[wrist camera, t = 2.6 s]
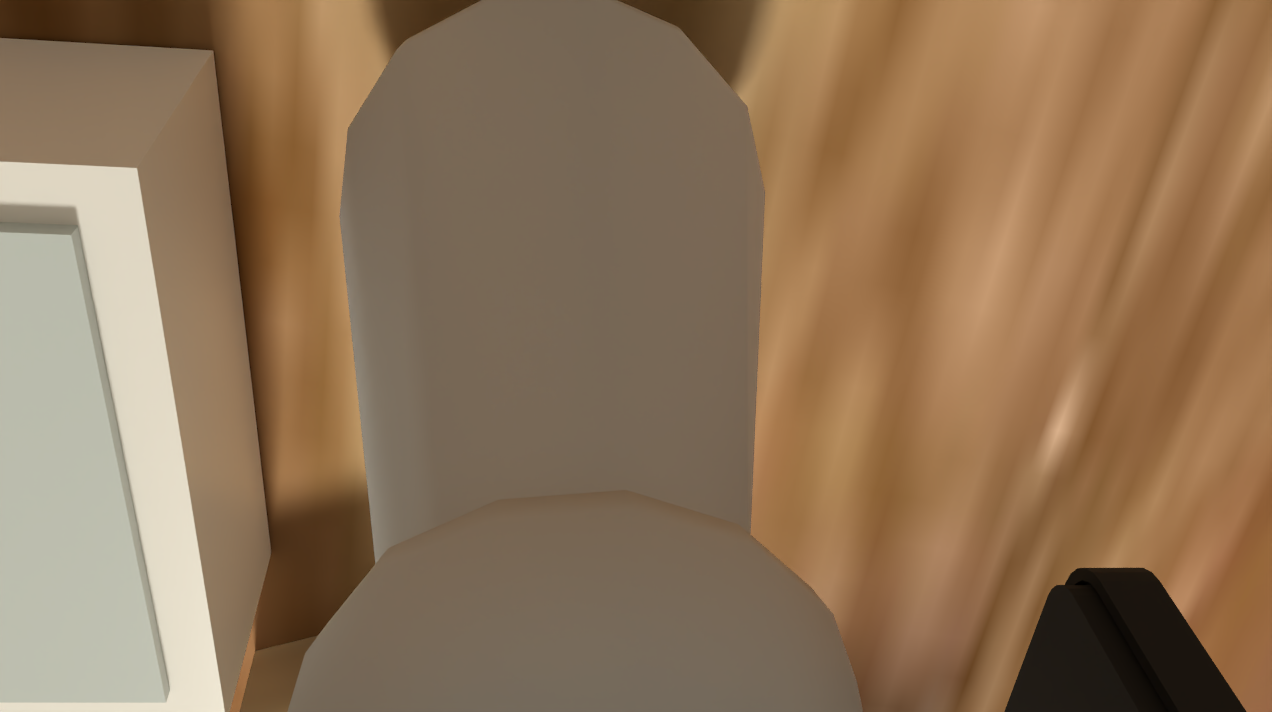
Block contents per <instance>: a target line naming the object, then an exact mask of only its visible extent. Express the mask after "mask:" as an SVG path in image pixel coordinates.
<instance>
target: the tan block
mask: <svg viewBox="0 0 1272 712" xmlns="http://www.w3.org/2000/svg"><path fill="white" fill-rule="evenodd" d="M317 637H318V636H314V637H310V638H306V639H302V640H298V641H294V642H290V643H286V644H281V645H277V646H273V647H269V648H265V649H261V650H257V651H255V654H254V658H253V662H252V666H251V669H250V673H249V677H248V681H247V685H246V689H245V693H244V697H243V701H242V704H241V708H240V712H287V711H288V708H289V705H290V701H291V698H292V695H293V691H294V688H295V685H296V682H297V678H298V675H299V672H300V668H301V665H302V662H303V659H304V655H305V653H306V651H307V650H308V649H309V647H310V646H311V645H312V643H313V642H314V641H315V639H316V638H317Z"/></svg>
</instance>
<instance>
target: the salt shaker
mask: <svg viewBox="0 0 1272 712" xmlns="http://www.w3.org/2000/svg"><path fill="white" fill-rule="evenodd" d="M764 205H765V190H764V185H763V180H762V175H761V171H760V166H759V161H758V156H757V151H756V147H755V142H754V137H753V132H752V127H751V123H750V118H749V113H748V108H747V106H746V105H745V103H744V102H743V101H742V100H741V99H740V98H739V96H738V95H737V94H736V93H735V92H734V91H733V89H732V88H731V87H730V86H729V85H728V84H727V83H726V81H725V80H724V79H723V78H722V77H721V76H720V74H719V73H718V72H717V71H716V70H715V69H714V67H713V66H712V65H711V64H710V63H709V62H708V61H707V59H706V58H705V57H704V56H703V55H702V54H701V52H700V51H699V50H698V49H697V48H696V47H695V45H694V44H693V43H692V42H691V41H690V40H689V38H688V37H687V36H686V35H685V34H684V33H683V31H682V30H681V29H680V28H679V27H677V26H675V25H673V24H671V23H668V22H666V21H664V20H662V19H659V18H657V17H655V16H652V15H650V14H648V13H646V12H643V11H641V10H639V9H636V8H634V7H632V6H630V5H627V4H625V3H623V2H621V1H618V0H480V1H479V2H477V3H475V4H473V5H471V6H469V7H467V8H465V9H463V10H461V11H460V12H458V13H456V14H454V15H452V16H450V17H448V18H446V19H444V20H442V21H440V22H439V23H437V24H435V25H433V26H431V27H429V28H427V29H425V30H423V31H421V32H419V33H418V34H416V35H414V36H412V37H410V38H408V39H406V40H405V41H404V42H403V43H402V44H401V45H400V46H399V47H398V48H397V50H396V52H395V53H394V55H393V56H392V58H391V60H390V61H389V63H388V65H387V66H386V68H385V69H384V71H383V73H382V74H381V76H380V77H379V79H378V81H377V82H376V84H375V86H374V87H373V89H372V90H371V92H370V94H369V95H368V97H367V99H366V100H365V102H364V103H363V105H362V107H361V108H360V110H359V112H358V113H357V115H356V116H355V118H354V120H353V121H352V123H351V124H350V126H349V128H348V133H347V144H346V154H345V165H344V175H343V186H342V196H341V207H340V224H341V234H342V244H343V253H344V263H345V273H346V283H347V292H348V302H349V312H350V322H351V331H352V341H353V351H354V361H355V370H356V380H357V390H358V400H359V409H360V419H361V429H362V438H363V448H364V458H365V468H366V477H367V487H368V497H369V507H370V516H371V526H372V536H373V546H374V555H375V565H374V566H373V568H372V569H371V570H370V571H369V572H368V574H367V575H366V576H365V577H364V579H363V580H362V581H361V582H360V584H359V585H358V586H357V587H356V588H355V590H354V591H353V592H352V593H351V595H350V596H349V597H348V598H347V600H346V601H345V602H344V603H343V605H342V606H341V607H340V608H339V609H338V611H337V612H336V613H335V614H334V616H333V617H332V618H331V619H330V621H329V622H328V623H327V624H326V626H325V627H324V628H323V630H322V631H321V632H320V634H319V635H318V637H317V638H316V639H315V641H314V642H313V643H312V645H311V646H310V647H309V649H308V650H307V651H306V653H305V655H304V659H303V662H302V665H301V668H300V672H299V675H298V678H297V682H296V685H295V688H294V691H293V695H292V698H291V701H290V705H289V708H288V711H287V712H863V710H862V705H861V700H860V695H859V690H858V685H857V681H856V678H855V675H854V672H853V669H852V667H851V664H850V661H849V658H848V655H847V652H846V650H845V647H844V644H843V641H842V638H841V635H840V633H839V630H838V627H837V624H836V621H835V618H834V616H833V614H832V612H831V611H830V610H829V609H828V608H827V606H826V605H825V604H824V603H823V601H822V600H821V599H820V598H819V597H818V595H817V594H816V593H815V592H814V590H813V589H812V588H811V587H810V586H809V585H808V584H807V583H805V582H804V581H803V580H802V579H801V578H800V577H798V576H797V575H796V574H795V573H794V572H793V571H792V570H790V569H789V568H788V567H787V566H786V565H785V564H784V563H782V562H781V561H780V560H779V559H778V558H777V557H776V556H774V555H773V554H772V553H771V552H770V551H769V550H768V549H766V548H765V547H764V546H763V545H762V544H761V543H760V542H758V541H757V540H756V539H755V538H754V537H753V536H752V535H750V532H751V509H752V485H753V462H754V439H755V415H756V392H757V369H758V345H759V322H760V298H761V275H762V252H763V228H764Z"/></svg>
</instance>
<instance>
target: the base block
mask: <svg viewBox="0 0 1272 712" xmlns="http://www.w3.org/2000/svg"><path fill="white" fill-rule="evenodd" d="M270 556H271V546H270V537H269V529H268V520H267V511H266V503H265V494H264V485H263V477H262V468H261V459H260V451H259V442H258V433H257V425H256V416H255V407H254V399H253V390H252V381H251V373H250V364H249V355H248V347H247V338H246V329H245V321H244V312H243V303H242V295H241V286H240V277H239V269H238V260H237V251H236V243H235V234H234V225H233V217H232V208H231V199H230V191H229V182H228V173H227V165H226V156H225V147H224V139H223V130H222V121H221V113H220V104H219V95H218V87H217V78H216V69H215V61H214V52H213V50H197V49H180V48H163V47H145V46H128V45H111V44H94V43H77V42H60V41H43V40H26V39H9V38H0V712H230V708H231V704H232V701H233V697H234V693H235V689H236V685H237V682H238V678H239V674H240V670H241V666H242V663H243V659H244V655H245V651H246V647H247V644H248V640H249V636H250V632H251V628H252V625H253V621H254V617H255V613H256V610H257V606H258V602H259V598H260V594H261V591H262V587H263V583H264V579H265V575H266V572H267V568H268V564H269V560H270Z"/></svg>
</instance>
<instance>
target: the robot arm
mask: <svg viewBox="0 0 1272 712" xmlns="http://www.w3.org/2000/svg"><path fill="white" fill-rule="evenodd" d="M1005 712H1246V710H1245V709H1244V707H1243V706H1242V704H1241V703H1240V701H1239V700H1238V698H1237V697H1236V695H1235V694H1234V692H1233V691H1232V689H1231V688H1230V686H1229V685H1228V683H1227V682H1226V680H1225V679H1224V677H1223V676H1222V674H1221V673H1220V671H1219V670H1218V668H1217V667H1216V665H1215V664H1214V662H1213V661H1212V659H1211V658H1210V656H1209V655H1208V653H1207V652H1206V650H1205V649H1204V647H1203V646H1202V644H1201V643H1200V641H1199V640H1198V638H1197V637H1196V635H1195V634H1194V632H1193V631H1192V629H1191V628H1190V626H1189V625H1188V623H1187V622H1186V620H1185V619H1184V617H1183V616H1182V614H1181V613H1180V611H1179V610H1178V608H1177V607H1176V605H1175V604H1174V602H1173V601H1172V599H1171V598H1170V596H1169V595H1168V593H1167V592H1166V590H1165V588H1164V587H1163V585H1162V584H1161V582H1160V581H1159V580H1158V579H1157V578H1156V577H1155V575H1154V574H1153V573H1152V572H1150V571H1148V570H1146V569H1144V568H1078V569H1076V570H1075V571H1074V572H1072V573H1071V574H1070V576H1069V578H1068V580H1067V582H1066V583H1065V585H1056V586H1055V587H1054V588H1053V589H1052V590H1051V591H1050V593H1049V595H1048V597H1047V600H1046V603H1045V605H1044V608H1043V611H1042V613H1041V616H1040V619H1039V621H1038V624H1037V627H1036V629H1035V632H1034V635H1033V637H1032V640H1031V643H1030V645H1029V648H1028V651H1027V653H1026V656H1025V659H1024V661H1023V664H1022V666H1021V669H1020V672H1019V674H1018V677H1017V680H1016V682H1015V685H1014V688H1013V690H1012V693H1011V696H1010V698H1009V701H1008V704H1007V706H1006V709H1005Z"/></svg>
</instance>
